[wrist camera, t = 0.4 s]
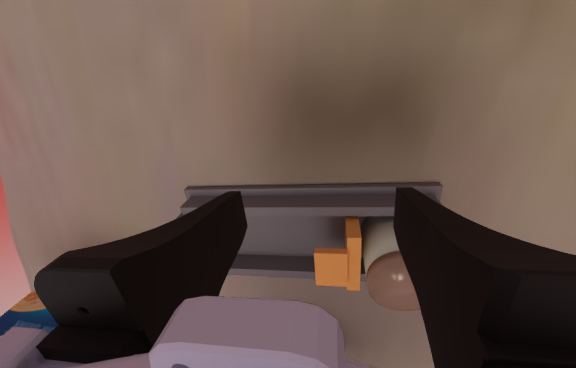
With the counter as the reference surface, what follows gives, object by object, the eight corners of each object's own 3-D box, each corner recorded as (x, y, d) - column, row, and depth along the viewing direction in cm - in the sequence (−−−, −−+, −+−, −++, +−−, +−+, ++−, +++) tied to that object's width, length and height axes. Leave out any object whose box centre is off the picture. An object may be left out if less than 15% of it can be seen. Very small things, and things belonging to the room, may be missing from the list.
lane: (424, 268, 25) (438, 299, 22) (208, 260, 29) (193, 286, 26) (439, 182, 21) (458, 206, 18) (187, 187, 25) (165, 206, 22)
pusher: (356, 256, 24) (360, 296, 20) (319, 255, 25) (316, 294, 21) (357, 208, 22) (362, 243, 18) (316, 208, 23) (313, 242, 19)
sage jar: (414, 254, 24) (437, 313, 18) (359, 253, 24) (366, 308, 19) (420, 209, 22) (449, 260, 16) (360, 209, 22) (368, 257, 17)
